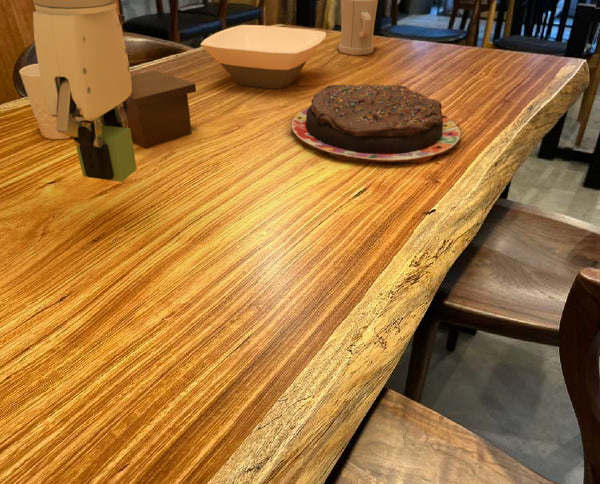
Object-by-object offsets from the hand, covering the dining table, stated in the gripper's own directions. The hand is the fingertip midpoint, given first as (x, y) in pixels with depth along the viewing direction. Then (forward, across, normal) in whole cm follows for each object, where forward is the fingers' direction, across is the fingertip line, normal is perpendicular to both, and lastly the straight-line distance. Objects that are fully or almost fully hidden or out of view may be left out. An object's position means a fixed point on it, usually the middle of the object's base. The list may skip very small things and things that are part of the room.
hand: (109, 168), depth 62 cm
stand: (+7, -27, -8) cm, 29 cm away
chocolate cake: (+6, -36, +28) cm, 46 cm away
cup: (+6, -92, +17) cm, 94 cm away
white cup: (+7, -24, -23) cm, 33 cm away
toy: (+1, 0, 0) cm, 1 cm away
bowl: (+7, -62, +2) cm, 62 cm away
